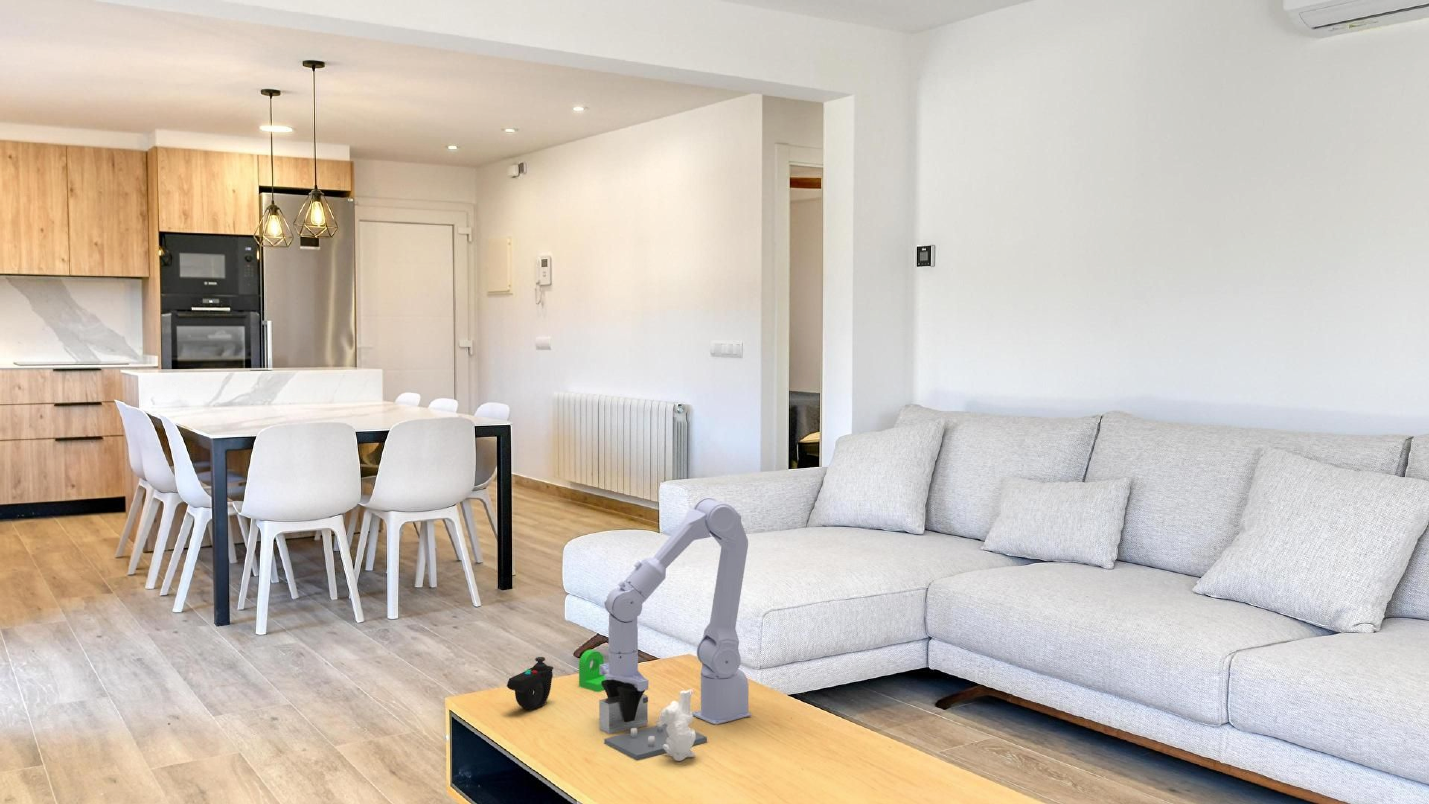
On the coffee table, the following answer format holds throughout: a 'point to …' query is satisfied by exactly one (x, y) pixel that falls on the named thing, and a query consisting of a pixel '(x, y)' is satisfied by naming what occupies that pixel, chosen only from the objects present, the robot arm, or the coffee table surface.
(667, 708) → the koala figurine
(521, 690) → the controller
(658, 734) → the pin tray
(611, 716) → the block
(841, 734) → the coffee table surface
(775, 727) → the coffee table surface
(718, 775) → the coffee table surface
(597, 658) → the mechanical part
